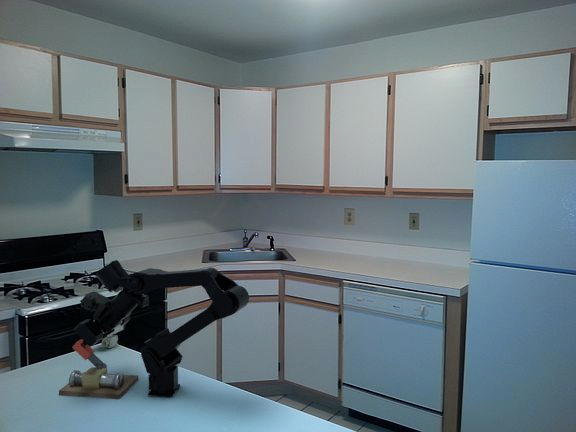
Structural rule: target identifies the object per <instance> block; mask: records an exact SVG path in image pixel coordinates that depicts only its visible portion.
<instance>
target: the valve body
mask: <svg viewBox="0 0 576 432" xmlns="http://www.w3.org/2000/svg"><path fill="white" fill-rule="evenodd" d="M83 372H84V371H83ZM83 372H81V370H75V369H74V370H73V371H71V373H69V374H70V375H69V377H68V383H69V385H70V386H75V385H82V388H83V389H95V390H99V389H100V388H101V387H114V389H119V388H120V387H122V386H123V384H124V379H125V377H124V375H125V374H124V373H123V372H117V373H115V374H116V375H110V374H111V373H108V367H107V368H97V367H95V366H91V367H90V368H88V369H87V370H86V371H85V372H84V373H83Z"/></svg>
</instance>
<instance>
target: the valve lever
mask: <svg viewBox="0 0 576 432" xmlns="http://www.w3.org/2000/svg"><path fill="white" fill-rule="evenodd" d="M71 348H72V349H73V350H74V351H75V352H76V353H77V354H78V355H79V356H80V357H81V358H82V359H84V360H85V361H87V360H88V361H89V362H90V363H91V364H92V365H93V367H97V368H107V369H108V365H107V364H106V363H105V362H103V360H102V359H100V357H98V356H97V355H96V354H95V352H96V351H95V349H94V348H92V346H88V345H84V344H83V339H82V338H80V339H79V340H77V341H76V342H75V343H74V344H73V346H72V347H71Z"/></svg>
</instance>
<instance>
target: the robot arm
mask: <svg viewBox="0 0 576 432" xmlns="http://www.w3.org/2000/svg"><path fill="white" fill-rule="evenodd" d="M95 276H96V278H98V280H99V281H100V283H101V284H102V285H103V286H104V287H105V288H106V290H107V291H108V292H109V293H112V292H114V293H117V294H116V295H115V296H114V297H113V298H112V299H109V298H108V297H107V296H105V295H103V294H102V293H100V292H97V291H91V292H89V293H86V294H85V295H84V296H83V298H82V299H80V307H81V308H83V309H85V310H86V311H90V312H93V315H92V316H93V319H88V318H86V319H85V320H83V321H80V322H79V323H78V324H77V325H76V326H75V327H74V328H73V331H74V332H75V333H76V334H77V336H79V338H80V339H82V340H83V344H84V345H88V346H90V347H93V346H94V345H95V344H97V343H98V342H100V341H103V340H102V339H103V338H105V337H106V336H107V335H109V334H111V333H112V332H114V331H115V330H114V328H116V327H117V326H119V325H121V326H123V325H124V324H125V325H126V324H127V323H128V322H129V321H130V320H131V314H132V311H133V310H135V308H136V307H137V306H139V308H144V307H147V306H150V300H149V298H150V296H149V295H146V294H149V293H151V292H154V291H157V290H161V289H168V288H169V289H171V288H184V287H186V288H187V287H202V288H203V289H204V290H205V292H206V293H207V294H206V295H207V296H208V297H209V299H210V300H211V303H210V304H209V306H207V308H206V309H204V310H203V311H201V312H200V313H198V314H196V316H194V317H192V318H191V319H189V320H188V321H186V322H185V323H184V324H181V326H179V327H177V328H176V329H175V330H173V331H171V330H170V329H169V328H168V327H167V328H165V329H163V330H162V331H160V332H158V333H156V334H155V335H153V336H152V337H151V338H149V339H148V340H146V341H144V342H143V344H144V345H143V346H142V347H141V349H140V356H141V359H142V362H143V364H144V367H145V372H146V373H147V374H148V390H149V392H147V396H148V397H160V398H162V397H163V398H173V396H174V395H175V394H176V392H177V391H178V390H179V389H180V388H181V384H180V383H179V364H181V362H182V360H183V355H182V353H181V352H180V351H179V350H178V348H179V347H180V346H181V344H183V343H184V342H185V341H187V340H188V339H189V338H191V337H192V336H194V335H195V334H198V333H199V332H200V331H202V330H203V329H205V328H206V327H208V326H210V325H212V324H213V323H214V322H215V321H218V320H219V321H220V320H221V319H225V318H228V317H230V316H232V315H234V314H236V313H238V312H239V311H241V310H242V309H244V308H245V307H246V306H247V305H248V304H249V302H250V295H249V292H248V290H247V289H246V288H245V287H244V286H243V285H239V284H238V283H236V282H235V281H234V280H233V279H231V278H229V277H227V276H225V275H224V274H222V273H221V272H220V271H219V270H218V269H216V268H215V267H208V268H201V269H200V268H198V269H186V270H185V269H184V270H174V271H172V270H171V271H167V270H163V269H159V268H153V267H152V268H150V267H149V268H146V269H141V270H139V271H135V272H132V273H128V272H127V271H126V270H125V269H124V268H123V265H122V263H120V262H119V260H118V259H115V260H112V261H110V263H108V264H106V265H105V266H104V267H102V268H99V270H97V272H96V274H95ZM94 317H95V318H94ZM93 320H94V321H93ZM121 321H122V323H121ZM170 331H171V332H170Z"/></svg>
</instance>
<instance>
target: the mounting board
mask: <svg viewBox="0 0 576 432" xmlns="http://www.w3.org/2000/svg"><path fill="white" fill-rule="evenodd" d="M82 373H84V371H83V372H82ZM109 374H110V375H116V374H117V373H109ZM124 377H125V379H124V384H123V386H122V387H120V388H119V389H114V387H101V388H100V389H99V390H95V389H83V388H82V385H75V386H70V385H69V382H68V383H67V384H65V385H64V386H63V387H62V388H60V389H59V390H58V395H59V396H69V397H79V398H80V397H84V398H85V397H86V398H96V399H98V398H99V399H112V400H113V399H115V400H120V399H121V398H122V397H123V396H124V395H125V394H126V393H127V392H128V391H129V390H130V389H131V388H133V386H134V385H135V384H136V383H138V381H139V380H140V378H139V375H133V374H124Z"/></svg>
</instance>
